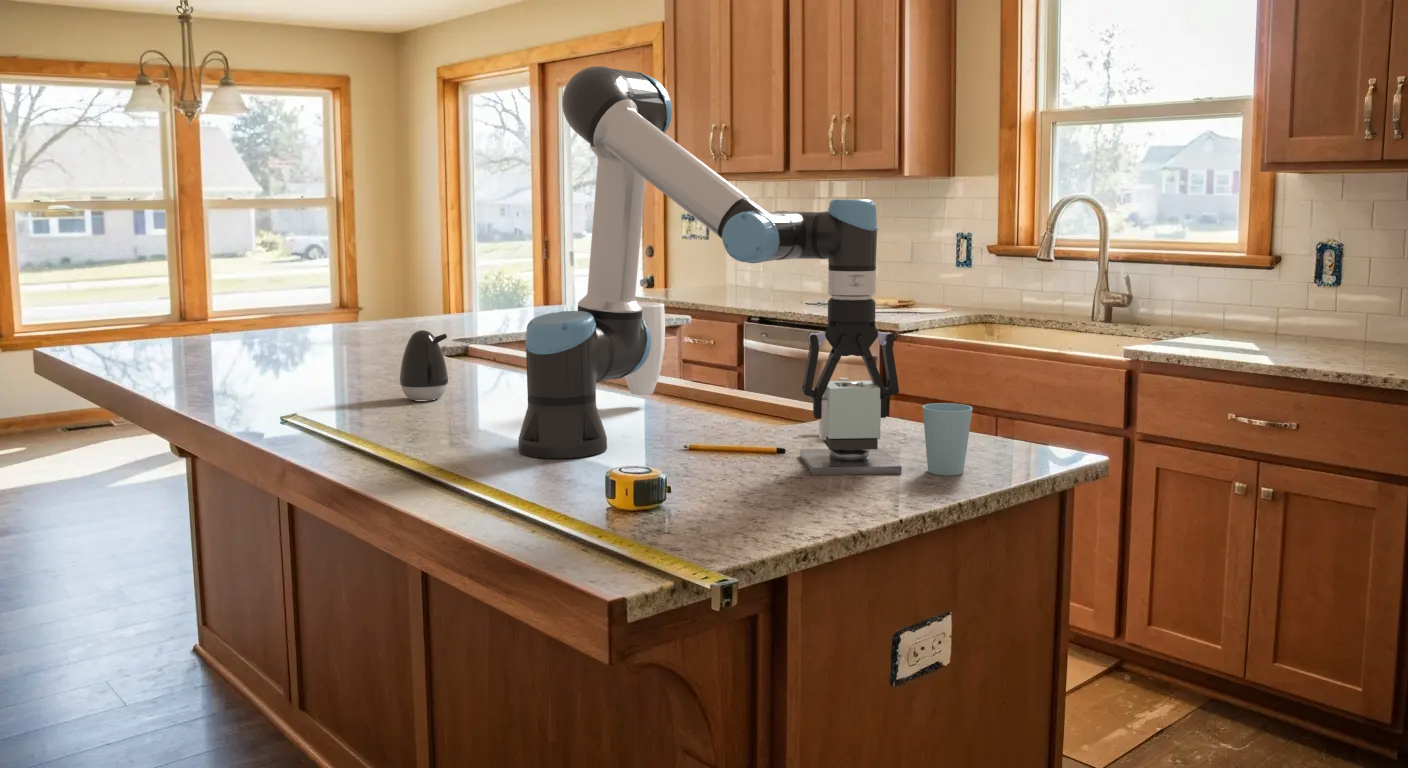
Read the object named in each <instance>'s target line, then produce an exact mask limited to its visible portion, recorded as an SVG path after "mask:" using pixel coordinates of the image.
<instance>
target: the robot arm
mask: <svg viewBox="0 0 1408 768" xmlns="http://www.w3.org/2000/svg"><path fill="white" fill-rule="evenodd" d="M561 102H562V104H561V105H562V111H563V114H564V118H565V120H566V122H567V123H568V125H569V126H570V128H571V129H572V130H573V131H574V132H575V133H576V134H577V135H578V136H580V137H581V138H582V139H583V140H584V141H586V142H587V143H589V144H590V145H589V148H590V149H591V150H590V151H592V153H594V155H595V156H596V157H597V163H596V164H597V166H596V177H595V178H596V180H595V181H596V182H595V191H594V193H595V194H594V202H593V203H594V204H593V218H592V228H591V229H592V231H591V242H590V256H589V269H588V279H587V281H588V282H587V293H586V295H585V296H584V297H582V298H581V299H580V300H579V301H577V302H578V303H577V310H564V311H558V312H549V313H545V314H541V315H538V316H535V317H533V318H532V319H531V320H529V322H527V323H528V324H527V325H526V333H525V334H526V335H525V336H526V337H525V343H524V346H525V354H526V356H525V357H526V359H525V360H526V383H527V384H526V387H527V408H526V411H525V414H524V415H525V416H524V417H523V418H524V419H523V422H522V426H521V428H520V432H519V436H518V440H517V441H518V452H519V453H520V454H521V453H522V455H524V456H527V455H528V457H532V458H533V457H534V458H541V459H573V458H585V457H589V456H595V455H598V454H602V453H604V452H605V451H607V449H608V440H607V439H608V438H607V433H606V431H605V428H604V425H603V422H602V418H601V416H600V412H599V410H598V406H597V400H596V399H597V396H596V395H597V386H596V383H601V382H605V381H611V380H619V379H622V378H625V376H627V375H629V374H632V373H634V372H635V371H637V370H638V369H639V368H640V367H641V366H642V365H643V364H644V363H645V361H646V360H647V358H648V356H649V353H650V349H651V334H650V331H649V328H647V327H646V323H645V321H644V320H643V319H642V311H643V308H642V306H641V305H640V304H639V303H638V302H639V301H638V300H637V298H636V293H637V281H638V280H637V279H638V269H639V257H640V247H641V246H640V245H641V236H642V233H641V232H642V225H643V222H642V221H643V212H644V200H645V192H646V191H645V190H646V181H647V182H649V183H650V184H651V185H653V187H655V188H656V189H658V191H660V192H662V193H663V194H664V195H665V196H667V198H669V199H670V200H672V201H673V202H674V203H676V204H677V205H678V206H679V207H681V208H682V209H683V210H684V211H686V212H687V213H688V214H690V215H691V216H692V217H693V218H695V219H696V220H697V221H698V222H700V223H701V224H702V225H704V226H705V227H706V228H708V229H709V230H710V231H711V232H712V233H714V234H715V235H716V236H717V237H719V238H720V239H722V243H723V246H724V248H725V251H726V252H727V254H728V255H729V256H730V257H731V258H732V259H734V260H736V261H738V262H742V263H748V264H761V263H763V262H771V261H783V260H795V259H797V260H799V259H800V260H802V259H803V260H804V259H805V260H806V259H808V260H811V259H812V260H813V259H814V260H815V259H818V260H827V261H828V269H827V270H828V279H827V281H828V282H827V294H828V295H829V296H831V298H829V299H828V300H827V325H826V328H825V329H824V331H822V332H818V333H814V332H809V333H808V334H807V340H808V345H809V350H808V354H807V359H806V363H805V364H806V365H805V369H804V370H805V371H804V376H803V382H802V387H801V392H802V393H803V394H804V395H805V396H806V397H807V396H808V397H811V398H812V415H813V418H814V419H816V420H819V422H818V423H819V425H818V426H819V427H818V428H819V431H818V435H819V436H818V437H819V439H820V440H821V441H822V440H826V425H827V400H826V399H825V398H824V397H823V394H824V392H825V390H826V388H827V385H828V383H829V381H831V379H832V376H833V374H834V372H835V370H836V367H837V365H838V363H839V362H840V360H841V358H842V357H849V356H856V357H861V359H862V360H863V362H864V365H865V367H866V369H867V372H868V374H869V377H870V379H871V382H873V383H874V384H875V385H877V386H878V387H879V388H880V423H879V438H877V439H878V440H881V419H886V418H887V416H888V399H889V398H890V397H891V396H895V395H898V394H900V387H899V381H898V375H897V369H896V362H895V357H894V356H895V354H894V350H893V349H894V343H895V338H896V337H895V335H894V334H893V333H891V332H889V331H887V332H882V331H879V330H878V329H877V327H876V300H875V298H872V297H873V296H875V295H876V291H877V281H876V279H877V246H878V245H877V243H878V239H877V238H878V230H879V227H878V219H877V218H878V216H877V215H878V214H877V204H876V203H875V201H873V200H872V199H867V198H866V199H865V198H861V199H860V198H858V199H856V198H855V199H854V198H853V199H850V198H849V199H843V198H842V199H831V200H830V202H829V204H828V209H827V211H821V212H820V211H816V212H815V211H788V210H776V211H767V210H766V209H764V208H763V207H761V206H760V205H759V204H757V202H755V201H753V200H752V199H751V198H750V197H749V196H748V195H746V194H744V193H743V192H742V191H741V190H740V189H738V188H737V187H736V186H734V185H733V184H732V183H730V182H729V181H728V180H726V178H724V177H722V175H720V174H718V173H717V172H716V171H715V170H713V169H712V168H711V167H709V166H708V165H707V164H705V163H704V162H703V161H701V160H700V159H698V158H697V157H696V156H695V155H694V154H692V152H690V151H688V149H686V148H684V147H683V146H682V145H681V144H679V143H678V142H676V141H675V140H674V139H673V138H671V137H670V136H669V135H667V134H666V132H667V131H668V129H669V128H670V127H671V126H670V124H671V122H672V117H673V107H672V101H671V98H670V95H669V93H668V90H666V88H665V87H664V85H663V84H662V83H661V82H660V81H659V80H658V79H656V78H654V77H652V76H650V75H648V74H644V73H642V72H638V71H634V70H633V71H632V70H631V71H630V70H624V69H618V68H611V67H606V66H601V65H600V66H599V65H595V66H594V65H593V66H589V67H586V68H583V69H581V70H579V71H577V72H576V73H575V74H574V75H573V76H572V77H571V78H570V79H569V81H568V82H567V84H566V85H565V87H564V90H563V94H562V101H561ZM824 340H826V341H827V342H828V343H829V345H830V346H831V347H832V348H831V350H830V352H829V354H828V358H827V360H826V362H825V365H824V367H823V368H822V371H821V373H820V375H819V378H818V380H817V382H816V384H815V387H814V388H813V386H814V380H815V374H816V369H817V363H818V359H819V352H820V347H822V346H823V343H824ZM876 340H878V343H879V344H880V346H882V347H881V348H882V356H883V362H884V363H883V364H884V369H885V376H886V381H887V387H885V384H884V381H883V380H882V376H881V374H880V372H879V369H878V367H877V365H876V362H875V360H874V356H873V354H872V351H871V349H870V348H871V346H872V345H873V344H874V342H875V341H876Z"/></svg>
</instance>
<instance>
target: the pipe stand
mask: <svg viewBox="0 0 1408 768" xmlns="http://www.w3.org/2000/svg"><path fill="white" fill-rule="evenodd" d="M858 381H859V380H849V381H842V382H840V387H860V382H858ZM799 456H800V457H799V458H801V460H802V461H803V463H804V464H805V466H806V467H807V469H808V470H809V472H810V473H811V474H812V476H835V475H836V476H841V475H843V476H847V475H849V476H851V475H900V474H902V471H903V470H902V465H901V463H899V462H898V461H897V460H896V459H895V458H894V457H893V456H892V455H891V454H889V453H888V451H886V450H885V449H884V448H883V447H878V448H877V449H862V450H830V449H829V448H805V449H804V448H802V449H799Z"/></svg>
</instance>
